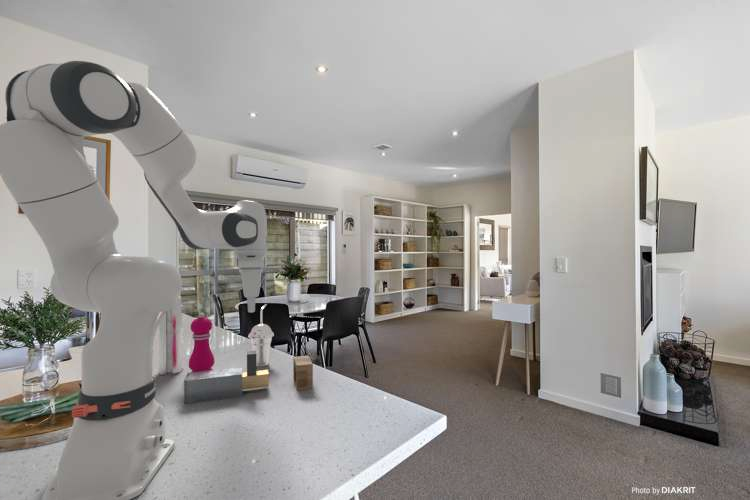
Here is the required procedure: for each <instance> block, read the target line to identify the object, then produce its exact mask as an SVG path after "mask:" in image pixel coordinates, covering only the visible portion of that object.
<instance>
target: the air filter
mask: <svg viewBox="0 0 750 500" xmlns="http://www.w3.org/2000/svg"><path fill="white" fill-rule="evenodd" d="M182 299H183V298H182V296H181V295H180V296H179V298H178V300H177V302H176V303H175V304H174V305H173V306H172V307H171V308H170V309H169V310H167V311H166V312H165V314H164V315H163V316H162V318H161V320H160V322H159V324H158V327H157V330H158V374H159V375H160V376H171V375H175V374H176V375H177V374H179V373H180V372H182V370H183V356H182V355H183V345H182V344H183V331H182V330H183V329H182V326H183V325H182V324H183V322H182V315H183V314H182V310H183V309H182Z"/></svg>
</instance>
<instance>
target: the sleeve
mask: <svg viewBox="0 0 750 500" xmlns="http://www.w3.org/2000/svg"><path fill="white" fill-rule="evenodd" d="M242 372H243V366H239V367H229V368H220V369H213V370H209V371H200V372H192V371H191V372H187V374H186V376H185V378H184V381H183V404H184V405H186V404H194V403H195V404H196V403H200V402H208V401H218V400H224V399H232V398H240V397H243V390H242Z"/></svg>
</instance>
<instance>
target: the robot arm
mask: <svg viewBox="0 0 750 500" xmlns="http://www.w3.org/2000/svg"><path fill="white" fill-rule="evenodd" d="M5 104H6V122H3V123H2V124H0V177H1V178H2V181H3V182H4V184H5V186H6V188H7V189H8V191H9V193H10V195H11V196H12V197H13V199H14V200H15V202H16V203H17V205H18V206H19V208H20V209H21V211H22V212H23V213H24V215H25V216H26V218H27V219H28V221H29V222H30V224H31V226H32V227H33V229H34V230H35V231H36V233H37V234H38V235H39V237H40V239H41V241H42V242H43V244H44V246H45V248H46V250H47V253H48V255H49V258H50V261H51V264H52V269H53V271H54V272H53V274H52V275H51V279H50V289H51V293H52V295H53V297H54V298H55V299H56V301H58V302H59V303H61V304H64V305H65V306H67V307H70V308H72V309H76V310H79V311H80V312H81V311H82V312H90V313H100V322H99V325H98V329H97V331H96V334H95V336H94V337H93V338H92V339H90V340H89V341H88V342H87V343H86V344H84V346H83V348H82V350H81V353H80V354H81V355H80V358H81V359H80V361H81V368H80V369H81V389H80V390H79V392H78V396H77V397H78V399H77V401H76V404H75V405H74V406H73V407H72V410H71V417H72V419H73V423H72V426H71V428H70V432H69V434H68V436H67V440H66V442H65V445H64V448H63V451H62V454H61V456H60V459H59V461H58V463H57V465H56V468H55V470H54V471H53V474H52V476H51V478H50V480H49V483H48V484H47V486H46V489H45V491H44V492H43V495H42V497H41V499H40V500H132V499H134V498H135V497H138V496H140V495H141V494H142V493H143V491H144V490H145V489H146V487H147V486H148V485H149V483H150V482H151V480H152V479H153V478H154V476H155V475H156V473H157V472H159V471H158V470H159V469H160V468H161V467H162V465H163V463H164V462H166V460H167V458H168V457H169V455H170V454H171V452H173V450H174V449H175V447H176V444H175V441H174V439H170V438H166V437H167V436H166V422H165V419H166V418H165V408H164V406H163V405H162V404H160V403H159V402H158V401H157V400H156V398H155V397H156V387H157V385H156V384H157V383H156V380H155V377H154V376H153V353H154V351H153V350H154V347H153V346H154V341H155V340H154V339H155V336H156V332H157V330H158V324H159V322H160V320H161V318H162V316H163V315H164V314H165V312H166V311H167V310H169V309H170V308H171V307H172V306H173V305H174V304H175V303H176V302H177V300H178V298H179V296H180V297H181V293H182V290H183V288H182V287H183V281H182V276H181V274H180V271H179V270H178V269H177V267H176V266H174V265H173V264H171V263H169V262H167V261H164V260H160V259H157V258H154V257H150V256H123V255H122V254H121V253H120V252H119V251H118V249H117V247H116V244H115V239H114V233H115V231H116V230H117V228H118V226H119V223H120V222H119V216H118V214H117V212H116V210H115V209H114V206H113V205H112V203H111V202H110V200H109V198H108V196H107V194H106V192H105V191H104V189H103V187H102V185H101V183H100V182H99V180H98V178H97V176H96V174H95V173H94V171H93V169H92V168H91V166H90V165H89V163H88V162H87V159H86V155H85V151H84V141H85V137H92V136H95V135H96V136H97V135H105V134H111V135H113V137H115V138H117V139H118V140H119V142H120V143H122V145H123V146H124V147H125V148H126V150H127V151H128V152H129V153H130V154H131V156H132V157H134V159H135V160H136V162H137V163H138V164H139V166H140V168H142V170H143V175H144V179H145V182H146V183H147V185H148V188H150V190H151V191H152V193H153V194H154V195H155V197H156V198H157V200H158V202H159V203H160V204H161V205H162V207H163V208H164V210H165V211H166V212H167V214H168V215H169V216H170V218H171V219H172V221H173V222H174V224H175V226H176V228H177V231H178V233H179V235H180V238H181V239H182V241H183V242H184V244H185V245H186V246H188V247H189V248H191V249H193V250H197V251H198V250H199V251H200V250H208V249H222V250H223V249H233V266H234V267H237V268H238V272H239V273H240V278H241V284H242V292H243V296H244V298H246V301H247V312H248V313H254V312H256V300H257V299H256V298H258V297H259V295H260V291H261V282H262V273H263V271H264V270H263V269H264V268H265V267H266V266H268V246H267V241H266V239H267V236H268V220H267V219H268V218H267V212H266V208H265V206H264V205H263V204H262V203H260V202H258V201H254V200H247V199H246V200H245V199H243V200H238V201H236V203H235V205H233V206H232V207H231V208H228V209H225V210H218V211H205V210H202V209H200V208H198V207H196V206H195V205H194V203H193V201H192V200H191V198H190V197H189V195H188V193H187V192H186V190H185V188H184V187H183V184H182V182H181V181H183V179H184V178H186V177H187V176H188V175H189V174H190V172H191V171H193V169H194V167H195V164H196V162H197V151H196V148H195V146H194V144H193V142H192V140H191V138H190V136H189V135H188V134H187V133H186V131H185V129H184V128H183V127H182V125H180V122H178V120H177V118H176V117H175V116H174V115H173V114H172V113H171V111H170V110H169V109H168V107H166V106H165V104H164V103H163V102H162V101H161V100H160V99H159V98H158V97H157V96H156V95H155V94H154V92H152V91H151V90H150V88H148V87H146V86H145V85H142V84H141V83H137V82H126V81H125V80H124V79H122V77H120V75H118V74H117V73H115V72H114V71H112V70H111V69H109V68H108V67H105V66H103V65H101V64H98V63H96V62H90V61H84V60H71V61H67V62H61V63H45V64H42V65H39V66H36V67H34V68H31V69H28V70H24V71H21V72H19V73H17V74H16V75H14V77H12V78H11V80H9V82H8V84H7V86H6V88H5Z"/></svg>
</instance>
